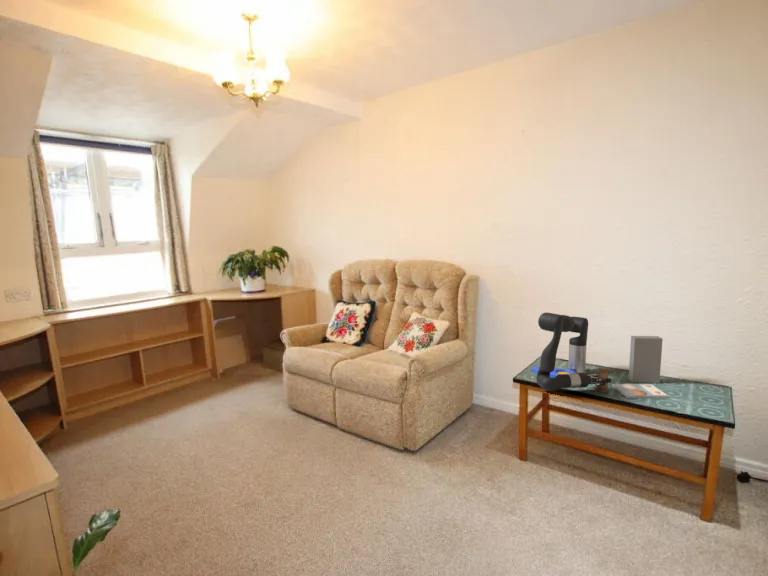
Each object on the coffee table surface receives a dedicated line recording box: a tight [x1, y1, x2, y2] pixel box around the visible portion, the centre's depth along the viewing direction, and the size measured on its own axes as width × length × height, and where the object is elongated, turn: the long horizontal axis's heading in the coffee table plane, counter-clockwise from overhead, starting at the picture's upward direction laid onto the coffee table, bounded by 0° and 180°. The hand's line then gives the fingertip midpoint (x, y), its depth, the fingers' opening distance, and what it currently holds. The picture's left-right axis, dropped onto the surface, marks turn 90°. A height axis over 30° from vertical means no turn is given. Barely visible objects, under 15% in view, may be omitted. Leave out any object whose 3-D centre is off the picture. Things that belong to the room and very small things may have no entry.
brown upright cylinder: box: [596, 366, 610, 394], centre depth 216 cm, size 5×5×12 cm
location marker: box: [531, 366, 576, 378], centre depth 241 cm, size 13×3×25 cm
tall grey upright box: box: [627, 335, 663, 384], centre depth 227 cm, size 14×6×25 cm, turn 80°
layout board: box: [611, 383, 670, 399], centre depth 214 cm, size 16×20×2 cm
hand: (607, 378), depth 216 cm, fingers closed on brown upright cylinder, 5 cm apart
